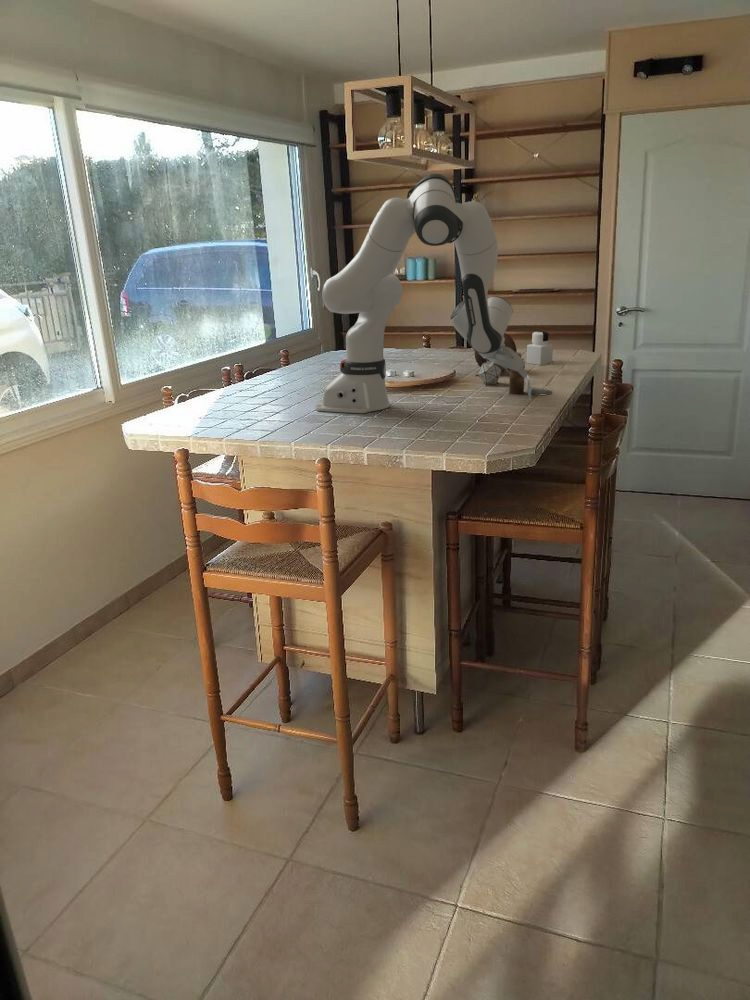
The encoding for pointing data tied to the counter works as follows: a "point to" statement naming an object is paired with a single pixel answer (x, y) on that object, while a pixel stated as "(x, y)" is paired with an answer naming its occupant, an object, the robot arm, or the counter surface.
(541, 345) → the medicine bottle
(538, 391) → the slate coaster
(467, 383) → the counter surface
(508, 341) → the wooden sphere
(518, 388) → the pepper mill
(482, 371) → the game die
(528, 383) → the clear wall
